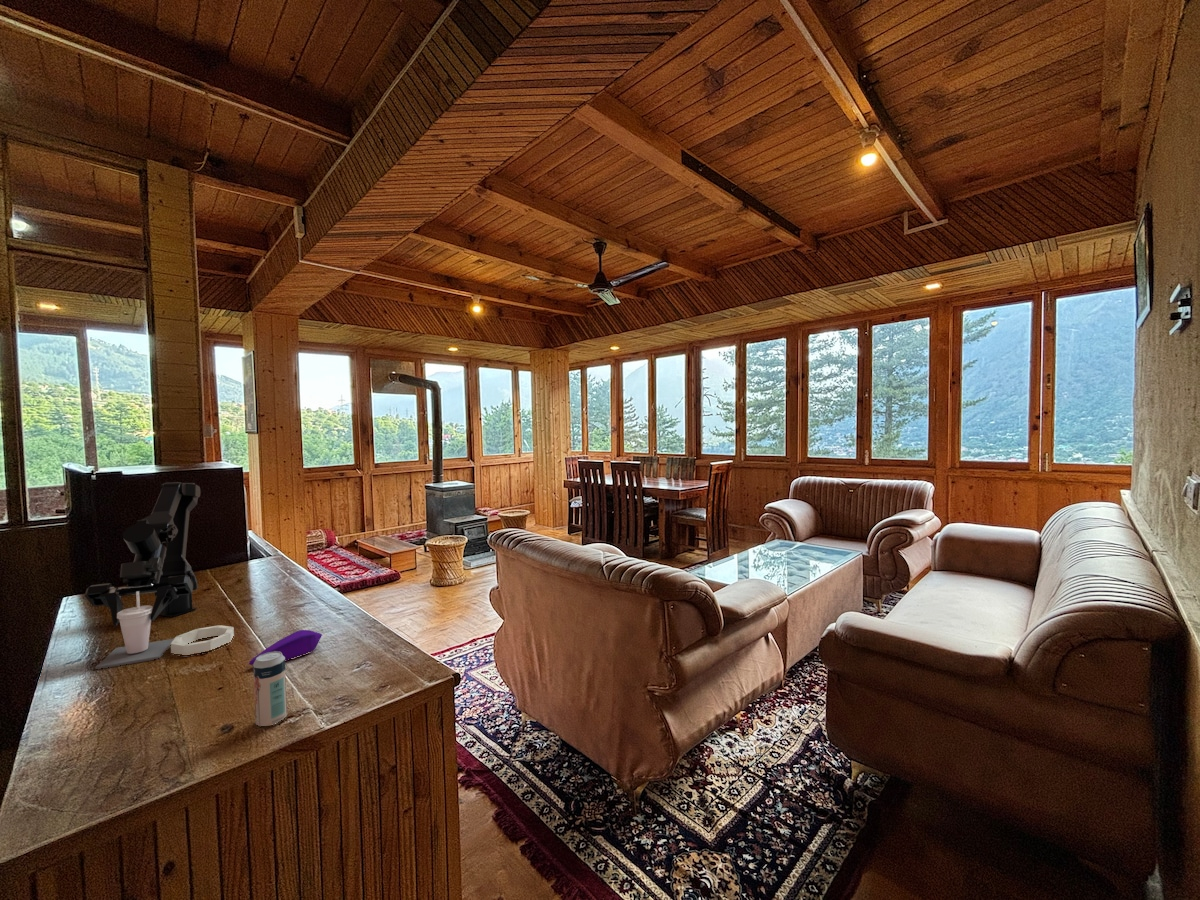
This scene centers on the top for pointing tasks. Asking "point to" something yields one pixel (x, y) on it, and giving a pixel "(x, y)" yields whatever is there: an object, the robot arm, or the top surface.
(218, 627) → the ring holder
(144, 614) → the smoothie
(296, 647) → the purple tapered wedge
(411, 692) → the top surface
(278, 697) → the pill bottle
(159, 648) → the mat
